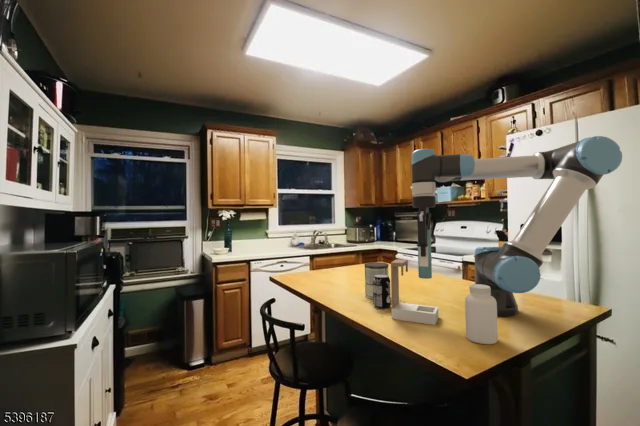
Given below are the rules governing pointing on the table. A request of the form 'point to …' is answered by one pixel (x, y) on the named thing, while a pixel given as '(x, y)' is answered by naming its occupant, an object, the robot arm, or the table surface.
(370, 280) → the coffee can
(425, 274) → the peg
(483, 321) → the pill bottle
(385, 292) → the beverage can
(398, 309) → the station
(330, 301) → the table surface
